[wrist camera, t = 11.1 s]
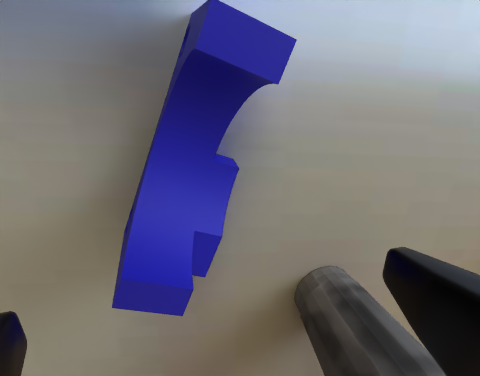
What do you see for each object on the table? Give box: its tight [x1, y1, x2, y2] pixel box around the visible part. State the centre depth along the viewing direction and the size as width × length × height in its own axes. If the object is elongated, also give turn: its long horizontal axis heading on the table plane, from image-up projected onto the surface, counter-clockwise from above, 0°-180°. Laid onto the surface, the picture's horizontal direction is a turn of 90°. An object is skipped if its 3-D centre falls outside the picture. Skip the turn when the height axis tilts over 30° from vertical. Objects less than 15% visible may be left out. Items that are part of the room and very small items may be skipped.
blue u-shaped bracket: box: [112, 0, 296, 316], centre depth 15 cm, size 12×4×6 cm, turn 158°
